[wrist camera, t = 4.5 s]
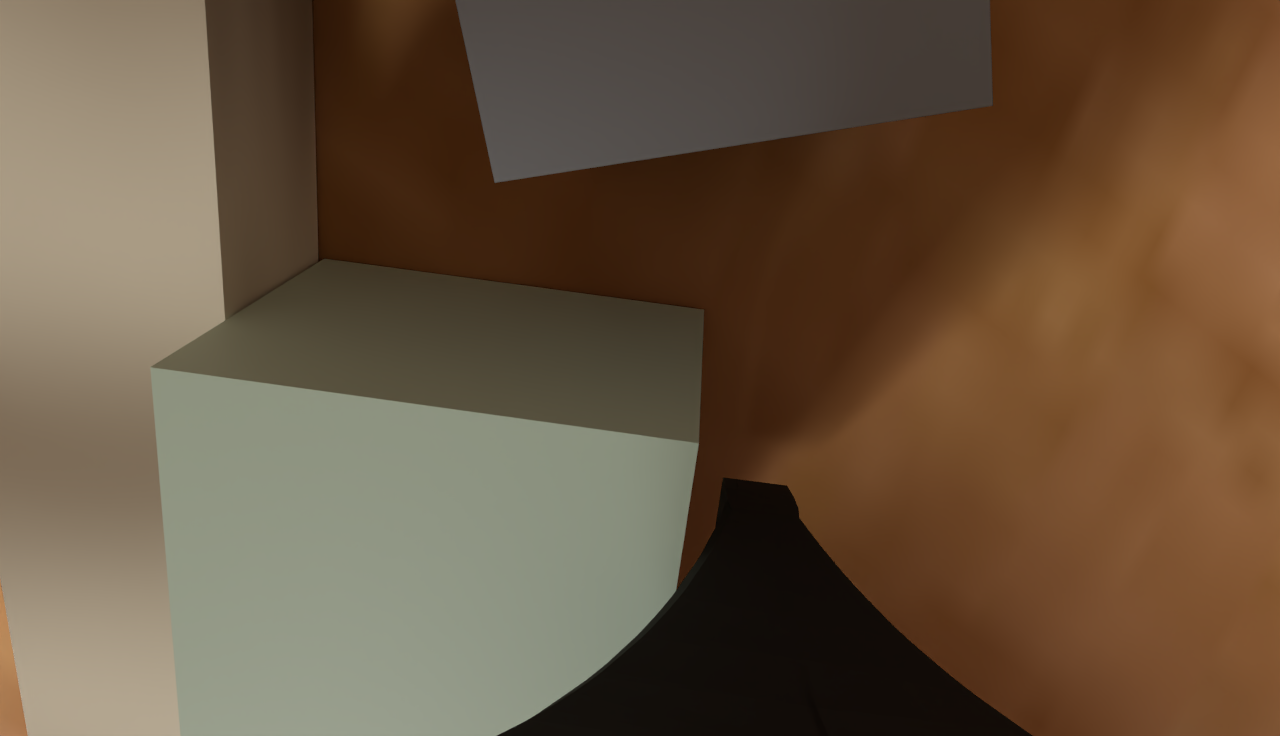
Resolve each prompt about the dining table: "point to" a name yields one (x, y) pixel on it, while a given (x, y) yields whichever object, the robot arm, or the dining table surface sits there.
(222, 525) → the sage block
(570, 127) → the grey cube
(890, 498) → the dining table surface
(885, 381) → the dining table surface
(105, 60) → the maple batten
